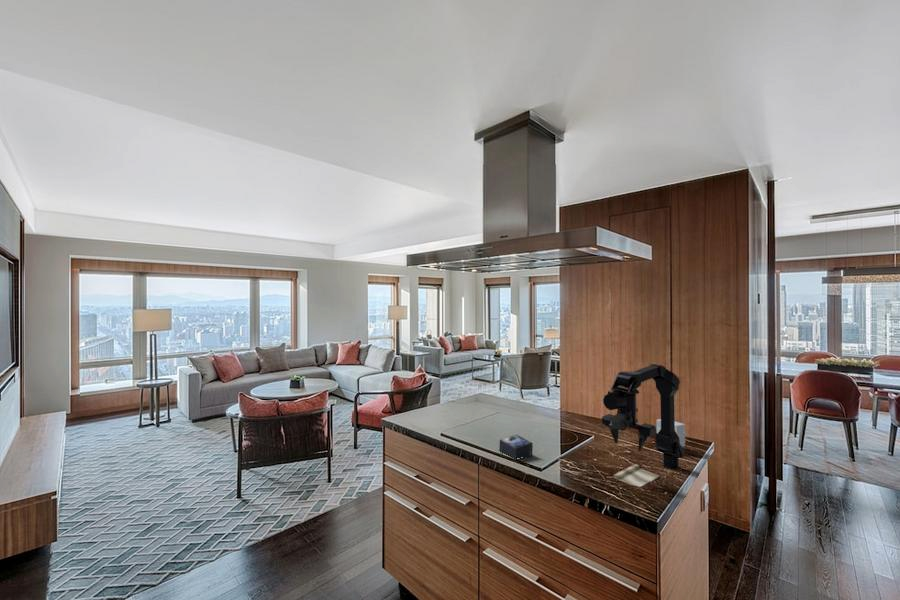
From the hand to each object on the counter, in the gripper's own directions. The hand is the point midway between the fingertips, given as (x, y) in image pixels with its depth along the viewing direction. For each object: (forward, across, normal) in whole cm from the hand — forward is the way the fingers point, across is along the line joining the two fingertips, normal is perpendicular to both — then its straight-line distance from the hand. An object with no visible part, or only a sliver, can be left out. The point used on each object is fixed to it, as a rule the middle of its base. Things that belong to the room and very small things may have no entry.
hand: (627, 446), depth 143 cm
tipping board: (+13, -4, +5) cm, 14 cm away
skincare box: (+14, -7, +52) cm, 55 cm away
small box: (+9, -42, -11) cm, 44 cm away
